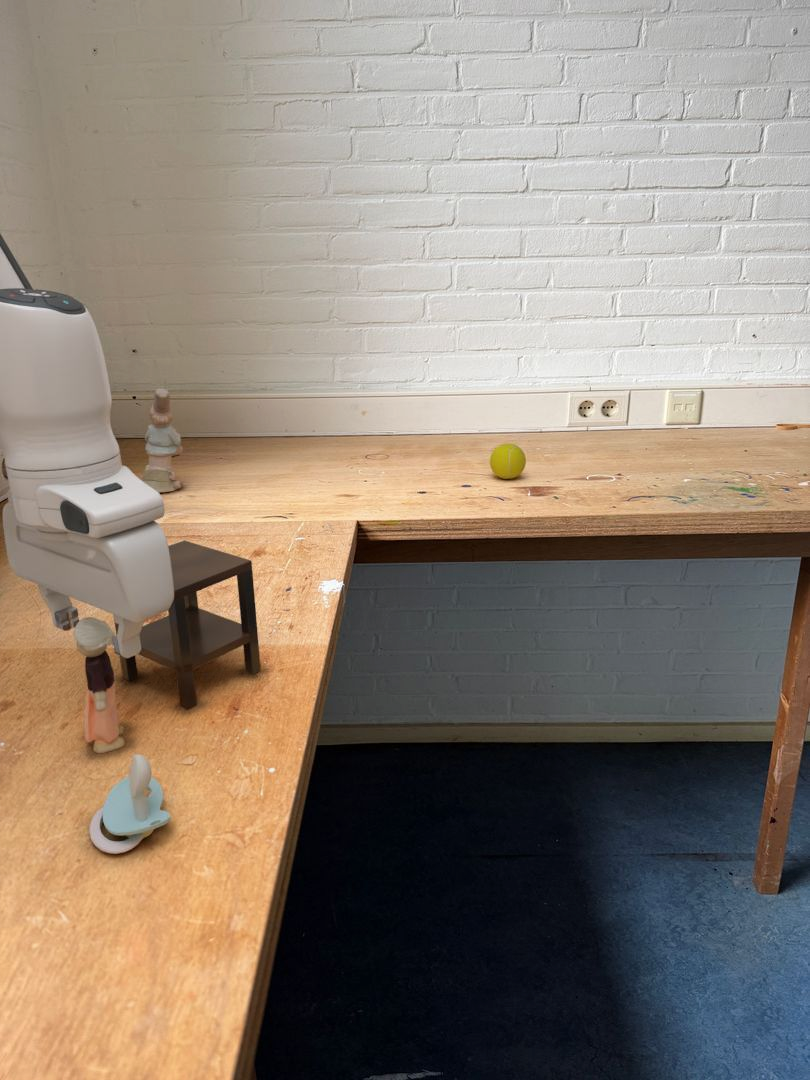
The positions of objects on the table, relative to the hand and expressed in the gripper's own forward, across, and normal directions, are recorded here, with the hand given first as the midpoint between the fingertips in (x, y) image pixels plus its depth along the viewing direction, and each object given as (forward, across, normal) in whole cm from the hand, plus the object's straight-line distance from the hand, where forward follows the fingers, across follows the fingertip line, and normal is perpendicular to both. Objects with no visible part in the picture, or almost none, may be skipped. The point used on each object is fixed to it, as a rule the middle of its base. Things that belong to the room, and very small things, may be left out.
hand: (96, 640), depth 71 cm
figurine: (+11, -69, +58) cm, 91 cm away
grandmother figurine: (+11, 0, 0) cm, 11 cm away
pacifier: (+11, +12, -6) cm, 17 cm away
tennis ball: (+12, -17, +103) cm, 105 cm away
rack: (+11, -4, +13) cm, 17 cm away
